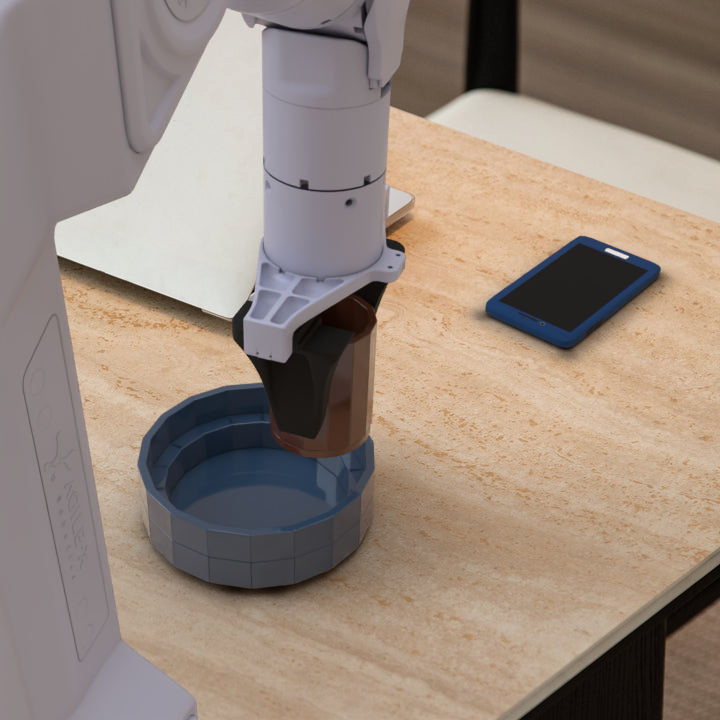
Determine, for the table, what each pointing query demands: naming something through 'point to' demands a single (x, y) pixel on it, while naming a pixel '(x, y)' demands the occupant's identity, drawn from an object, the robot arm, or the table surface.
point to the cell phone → (572, 291)
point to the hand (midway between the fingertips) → (319, 397)
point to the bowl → (248, 494)
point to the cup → (343, 386)
